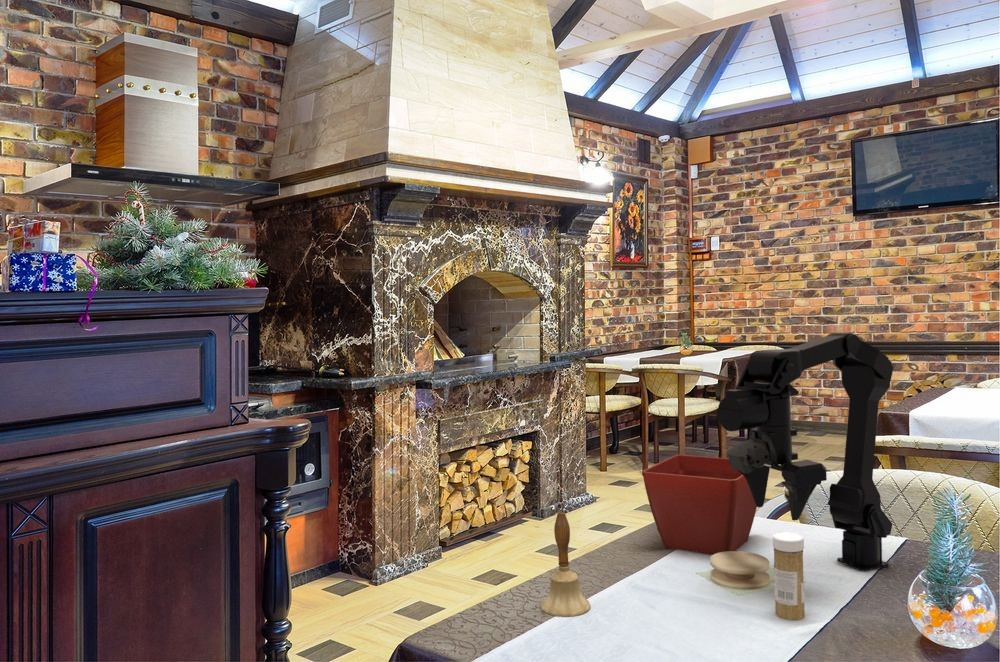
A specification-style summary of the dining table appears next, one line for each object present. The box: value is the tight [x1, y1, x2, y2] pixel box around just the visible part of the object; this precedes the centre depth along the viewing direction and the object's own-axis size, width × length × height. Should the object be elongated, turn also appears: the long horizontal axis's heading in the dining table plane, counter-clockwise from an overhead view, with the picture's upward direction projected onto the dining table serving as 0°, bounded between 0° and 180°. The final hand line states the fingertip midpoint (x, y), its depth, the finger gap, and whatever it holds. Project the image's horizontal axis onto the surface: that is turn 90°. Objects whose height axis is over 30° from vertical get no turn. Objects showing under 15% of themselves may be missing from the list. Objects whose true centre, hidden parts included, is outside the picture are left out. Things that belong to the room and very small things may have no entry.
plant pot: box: [642, 454, 758, 556], centre depth 159 cm, size 19×19×17 cm
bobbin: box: [709, 550, 771, 590], centre depth 138 cm, size 10×10×3 cm
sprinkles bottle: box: [772, 531, 806, 621], centre depth 122 cm, size 5×5×14 cm
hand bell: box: [540, 511, 591, 618], centre depth 130 cm, size 8×8×16 cm
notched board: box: [695, 566, 806, 596], centre depth 139 cm, size 14×12×1 cm
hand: (776, 513), depth 135 cm, fingers open, 9 cm apart
